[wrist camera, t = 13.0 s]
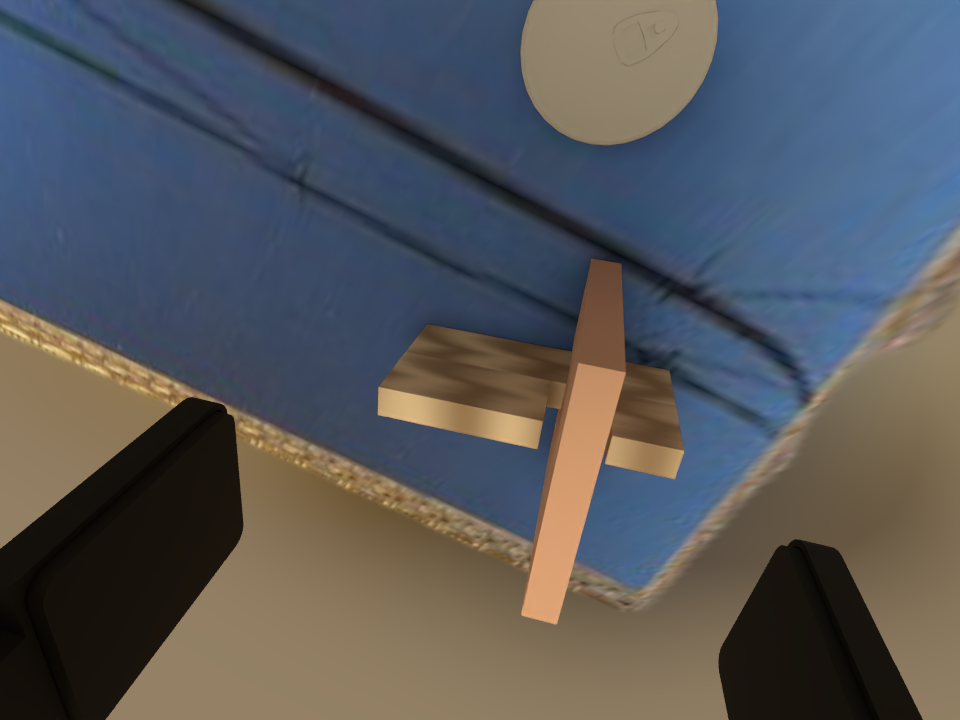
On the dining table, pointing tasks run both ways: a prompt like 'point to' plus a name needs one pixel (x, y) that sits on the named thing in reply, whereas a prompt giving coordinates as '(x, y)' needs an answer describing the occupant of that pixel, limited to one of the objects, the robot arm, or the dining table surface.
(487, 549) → the dining table surface
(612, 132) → the canned food
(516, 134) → the dining table surface
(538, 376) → the oak board
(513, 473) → the dining table surface
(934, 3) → the dining table surface
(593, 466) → the terracotta plate
